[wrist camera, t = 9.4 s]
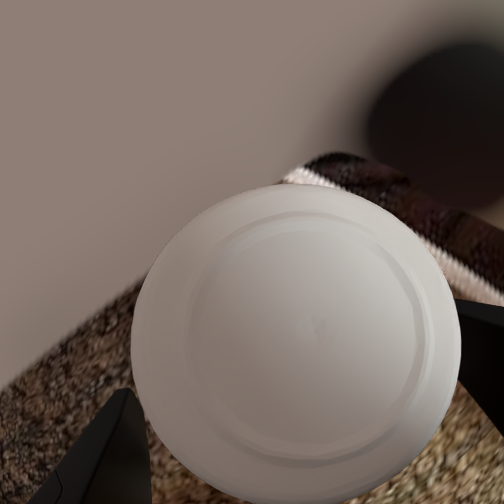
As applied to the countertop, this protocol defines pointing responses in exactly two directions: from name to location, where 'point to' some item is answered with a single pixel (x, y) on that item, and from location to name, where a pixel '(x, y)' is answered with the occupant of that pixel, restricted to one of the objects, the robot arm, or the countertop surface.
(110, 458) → the robot arm
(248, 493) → the sprinkles bottle
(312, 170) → the countertop surface
